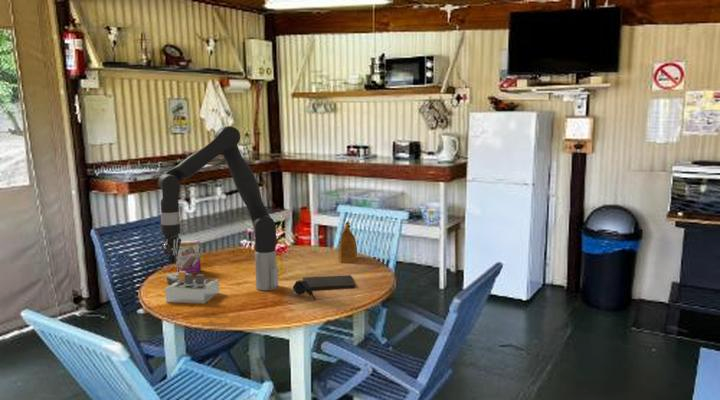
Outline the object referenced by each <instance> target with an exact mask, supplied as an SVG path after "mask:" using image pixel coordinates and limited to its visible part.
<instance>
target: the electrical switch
mask: <svg viewBox="0 0 720 400" xmlns="http://www.w3.org/2000/svg"><path fill="white" fill-rule="evenodd" d="M186 274H189V273H186ZM164 277H165V278H166V281H167V282H166V283H167V284H170V285H172V284H173V283H175V282H177V281H178V280H179V278H178V272H173V273H169V274H164Z"/></svg>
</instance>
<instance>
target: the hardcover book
mask: <svg viewBox="0 0 720 400" xmlns="http://www.w3.org/2000/svg"><path fill="white" fill-rule="evenodd" d="M302 281H306V282H307V284H308V285H309V287H310V288H311V290H312V292H314V291H324V290H325V291H326V290H327V291H328V290H329V291H330V290H343V289H346V290H347V289H355V288H356V284H355V281H354V280H353V277H352V275H329V276H307V277H306V276H304V277H302Z"/></svg>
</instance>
